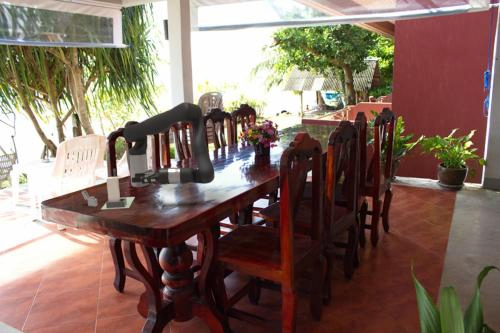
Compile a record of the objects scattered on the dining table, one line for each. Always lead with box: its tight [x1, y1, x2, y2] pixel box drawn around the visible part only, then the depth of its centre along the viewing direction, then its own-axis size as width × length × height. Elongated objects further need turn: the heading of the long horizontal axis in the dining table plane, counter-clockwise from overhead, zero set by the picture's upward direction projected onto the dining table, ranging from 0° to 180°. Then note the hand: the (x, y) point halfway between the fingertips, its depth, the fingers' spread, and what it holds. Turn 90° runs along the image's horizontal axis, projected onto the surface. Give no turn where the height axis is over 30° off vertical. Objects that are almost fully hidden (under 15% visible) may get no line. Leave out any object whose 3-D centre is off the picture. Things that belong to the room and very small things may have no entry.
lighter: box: [81, 189, 99, 207], centre depth 199 cm, size 7×2×8 cm, turn 69°
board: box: [101, 196, 135, 210], centre depth 202 cm, size 18×12×4 cm, turn 6°
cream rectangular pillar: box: [106, 168, 121, 202], centre depth 196 cm, size 3×4×17 cm, turn 97°
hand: (133, 178), depth 196 cm, fingers open, 8 cm apart
